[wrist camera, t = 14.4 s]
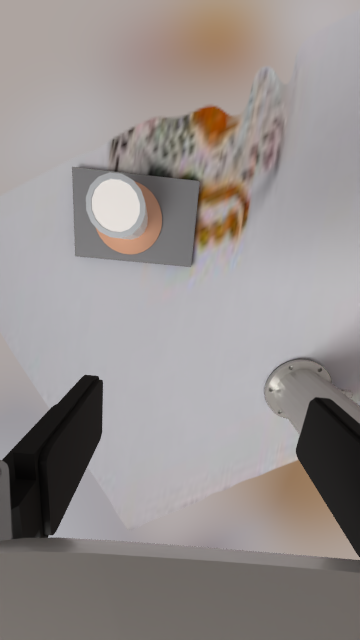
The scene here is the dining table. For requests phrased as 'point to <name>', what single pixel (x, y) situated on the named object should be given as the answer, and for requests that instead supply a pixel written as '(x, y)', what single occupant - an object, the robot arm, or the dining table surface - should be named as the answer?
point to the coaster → (150, 232)
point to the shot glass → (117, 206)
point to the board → (176, 219)
